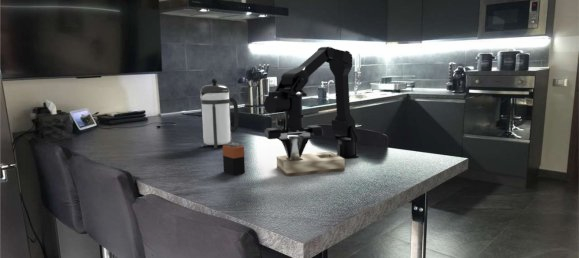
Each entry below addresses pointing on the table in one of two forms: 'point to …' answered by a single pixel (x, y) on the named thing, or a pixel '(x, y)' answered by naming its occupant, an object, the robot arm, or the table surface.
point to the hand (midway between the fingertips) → (294, 157)
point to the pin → (294, 148)
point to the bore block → (311, 164)
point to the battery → (233, 158)
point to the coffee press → (217, 114)
